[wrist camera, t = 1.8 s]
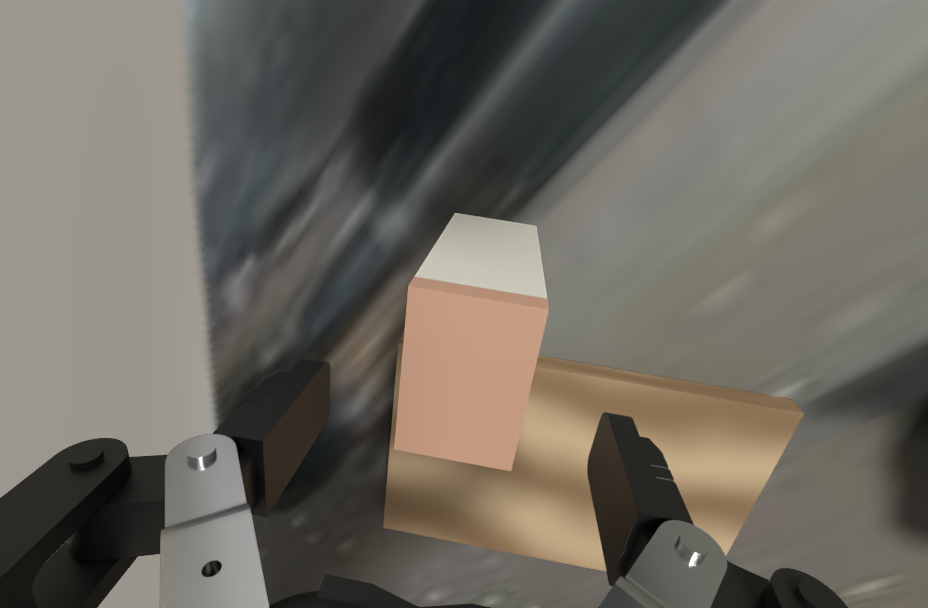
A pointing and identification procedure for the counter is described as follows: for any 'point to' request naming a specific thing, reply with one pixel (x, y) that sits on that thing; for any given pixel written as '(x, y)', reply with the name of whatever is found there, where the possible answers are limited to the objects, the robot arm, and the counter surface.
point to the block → (472, 342)
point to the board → (566, 457)
